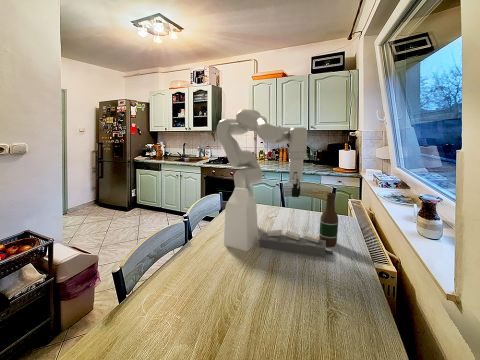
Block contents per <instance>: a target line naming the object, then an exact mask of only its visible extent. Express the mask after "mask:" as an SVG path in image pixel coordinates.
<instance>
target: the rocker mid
mask: <svg viewBox="0 0 480 360" xmlns="http://www.w3.org/2000/svg"><path fill="white" fill-rule="evenodd" d="M284 235H285V236H287V237H290V238H293V239H296V240H299V238H300V237H301V234H300V233H295V232H293V231H290V230H286V232H285V234H284Z"/></svg>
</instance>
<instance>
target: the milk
mask: <svg viewBox="0 0 480 360" xmlns="http://www.w3.org/2000/svg"><path fill="white" fill-rule="evenodd" d="M224 208H225V209H224V228H223V229H224V230H223V231H224V232H223V233H224V235H223V236H224V237H223V246H224V247H225V246H226V247H230V248H234V249H238V250H242V251H246V252H248V251H249V250H250V249H251V248H252V247H253V246H255V244H257V243H259V233H258V232H259V230H258V229H259V228H258V210H257V208H258V205H257V202H256V200H255V199H254V197H253V198H252V197H251V196H250V194H249V191H248V189H244V188H235V187H234V189H233V192H232V194H231V196H230V197H229V199H228V201H227V202H226V204H225V207H224Z"/></svg>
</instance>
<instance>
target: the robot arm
mask: <svg viewBox="0 0 480 360" xmlns="http://www.w3.org/2000/svg"><path fill="white" fill-rule="evenodd" d="M250 131H252V132H253V133H255V134H256V135H257V136H258V137H259V138H260V139H261V140H264V141H266V142H267V143H270V144H273V145H284V144H285V145H288V144H289V145H288V146H289V147H288V159H289V160H290V162H289V163H290V166H289V176H288V177H289V179H288V181H289V182H292V187H291V197H292V198H300V195H301V181H302V180H303V172H304V171H303V170H304V160H307V149H308V148H307V147H308V144H307V143H308V129H307V128H306V127H303V126H301V127H300V126H299V127H298V126H297V127H294V126H293V127H290V126H289V127H286V126H274V125H272V124H270V123H268V120H267V117H265V116H263V115H261V113H260V112H259V111H258V110H255V109H247V108H244V109H240V110H239V111H238V112H237V113H236V115H235V119H234V118H224V119H221V120H219V121H218V124H217V125H216V135H217V139H218V141H219V143H220V145H221V146H222V148H223V150H224V152H225V155H226V157H227V160H228V163H229V164H230V166H231V167H232V169H237V170H236V171H235V173H234V175H233V181H234V182H233V183H234V189H235V188H244V189H248V191H249V194H250V196H251V197H252V198H253V199H254V192H253V189H252V185H257V184H260V183H261V182H262V181H263V177H264V175H263V171H262V169H261V166H260V164H259V162H258V160H257V156H256V155H255V154H254V152H252V151H250V150H246V149H245V150H243V149H241V147H240V145H239V142H238V140H236V138H235V137H234V136H235V135H239V136H240V135H244V134H247V133H248V132H250Z"/></svg>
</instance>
